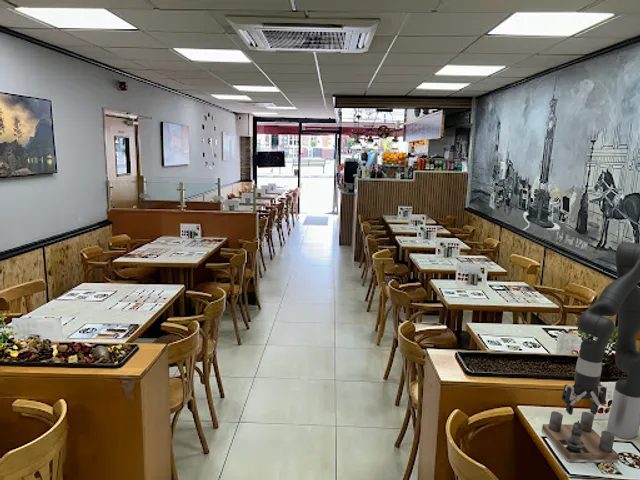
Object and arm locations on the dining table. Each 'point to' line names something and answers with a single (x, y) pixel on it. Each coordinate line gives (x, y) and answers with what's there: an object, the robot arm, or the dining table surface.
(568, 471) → the dining table surface
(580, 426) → the grey chess piece
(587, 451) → the wooden peg stand
